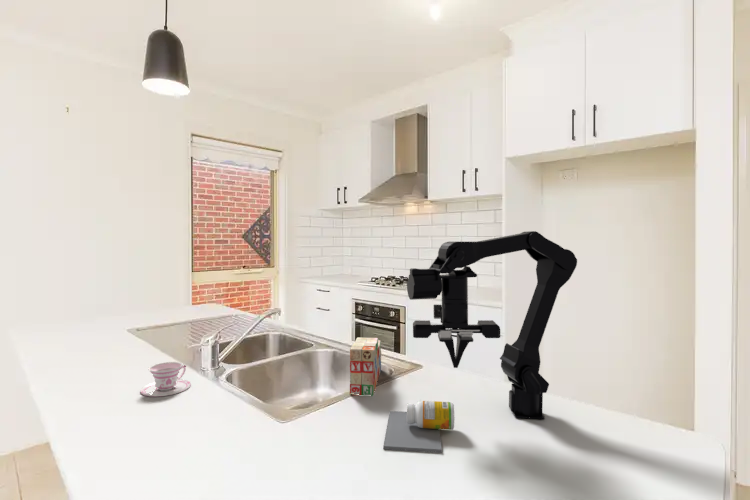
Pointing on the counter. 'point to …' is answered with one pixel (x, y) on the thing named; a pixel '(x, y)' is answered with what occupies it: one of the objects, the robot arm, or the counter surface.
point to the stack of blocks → (365, 365)
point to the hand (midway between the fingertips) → (455, 367)
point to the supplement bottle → (431, 414)
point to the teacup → (167, 379)
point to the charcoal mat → (410, 435)
